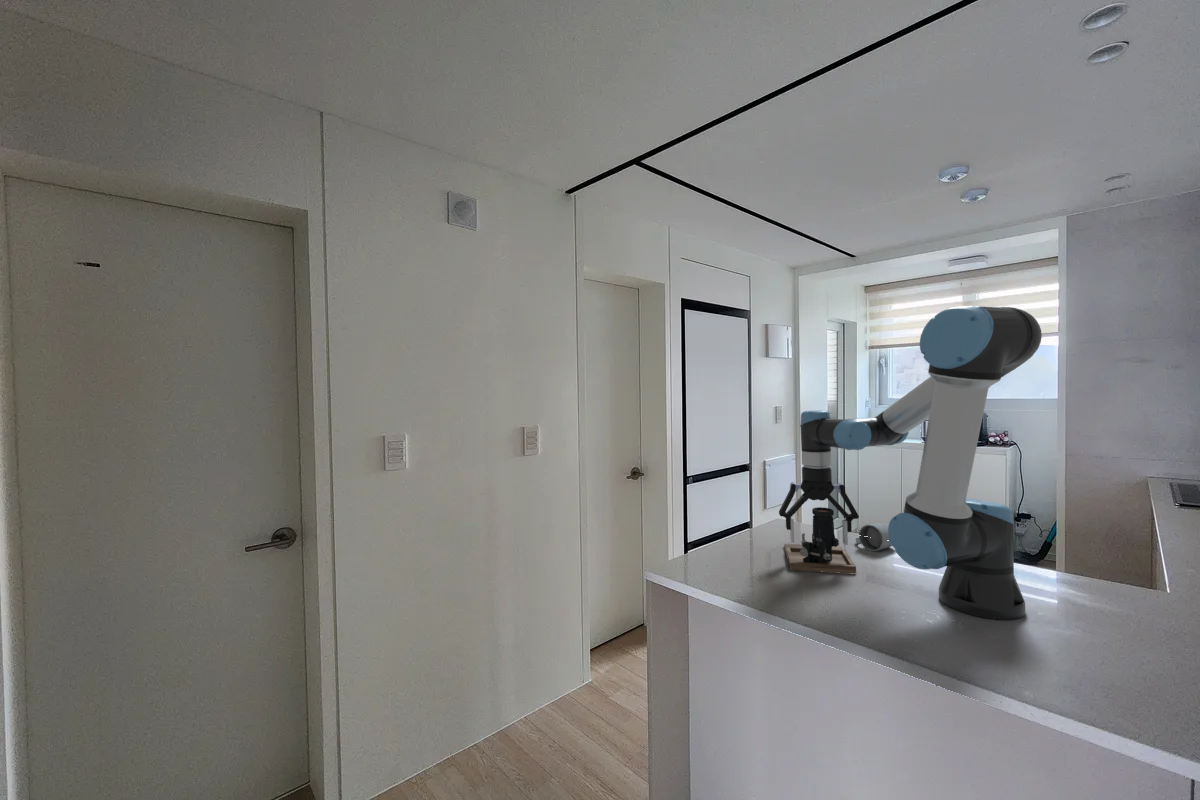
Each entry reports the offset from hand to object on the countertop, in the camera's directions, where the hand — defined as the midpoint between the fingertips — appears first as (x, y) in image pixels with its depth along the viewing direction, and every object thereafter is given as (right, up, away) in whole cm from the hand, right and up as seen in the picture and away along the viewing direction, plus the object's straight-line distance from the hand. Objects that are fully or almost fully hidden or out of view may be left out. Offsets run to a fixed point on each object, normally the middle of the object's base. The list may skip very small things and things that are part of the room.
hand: (818, 542), depth 137 cm
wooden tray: (+1, -6, +3) cm, 7 cm away
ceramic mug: (+22, -5, +12) cm, 25 cm away
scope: (+1, -5, 0) cm, 5 cm away
